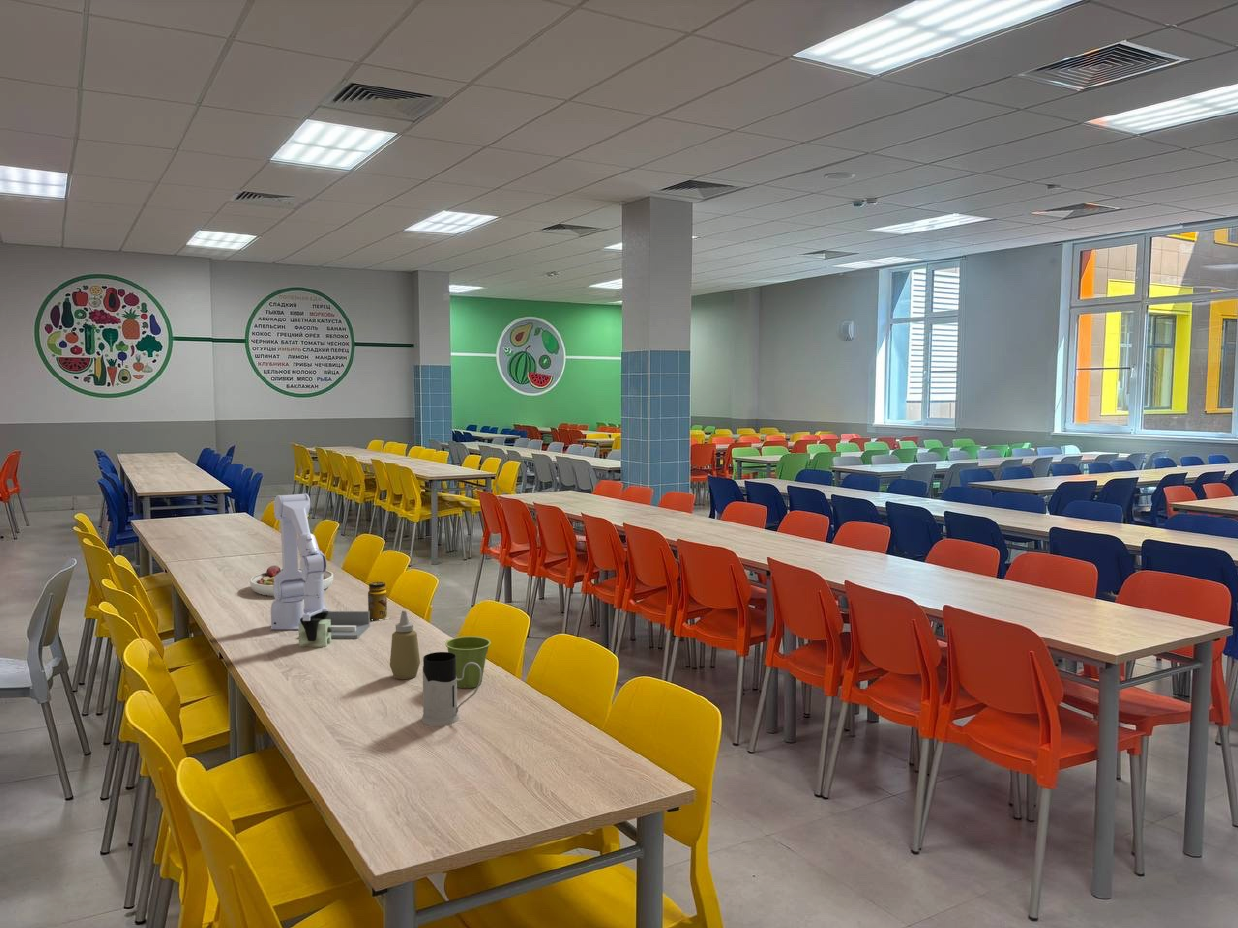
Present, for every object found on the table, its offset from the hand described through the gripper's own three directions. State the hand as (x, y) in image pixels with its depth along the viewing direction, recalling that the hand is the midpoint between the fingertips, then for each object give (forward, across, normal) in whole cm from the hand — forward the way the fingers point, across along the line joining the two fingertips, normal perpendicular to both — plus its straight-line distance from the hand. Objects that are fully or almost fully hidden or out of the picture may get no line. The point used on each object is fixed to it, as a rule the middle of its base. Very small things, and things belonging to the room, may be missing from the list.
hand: (315, 637), depth 261 cm
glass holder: (+2, -59, -52) cm, 79 cm away
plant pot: (+2, -35, -52) cm, 63 cm away
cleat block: (+2, 0, 0) cm, 2 cm away
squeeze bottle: (+2, -29, -34) cm, 45 cm away
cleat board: (+2, +13, -2) cm, 13 cm away
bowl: (+2, +72, +33) cm, 79 cm away
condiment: (+2, +30, -10) cm, 32 cm away
